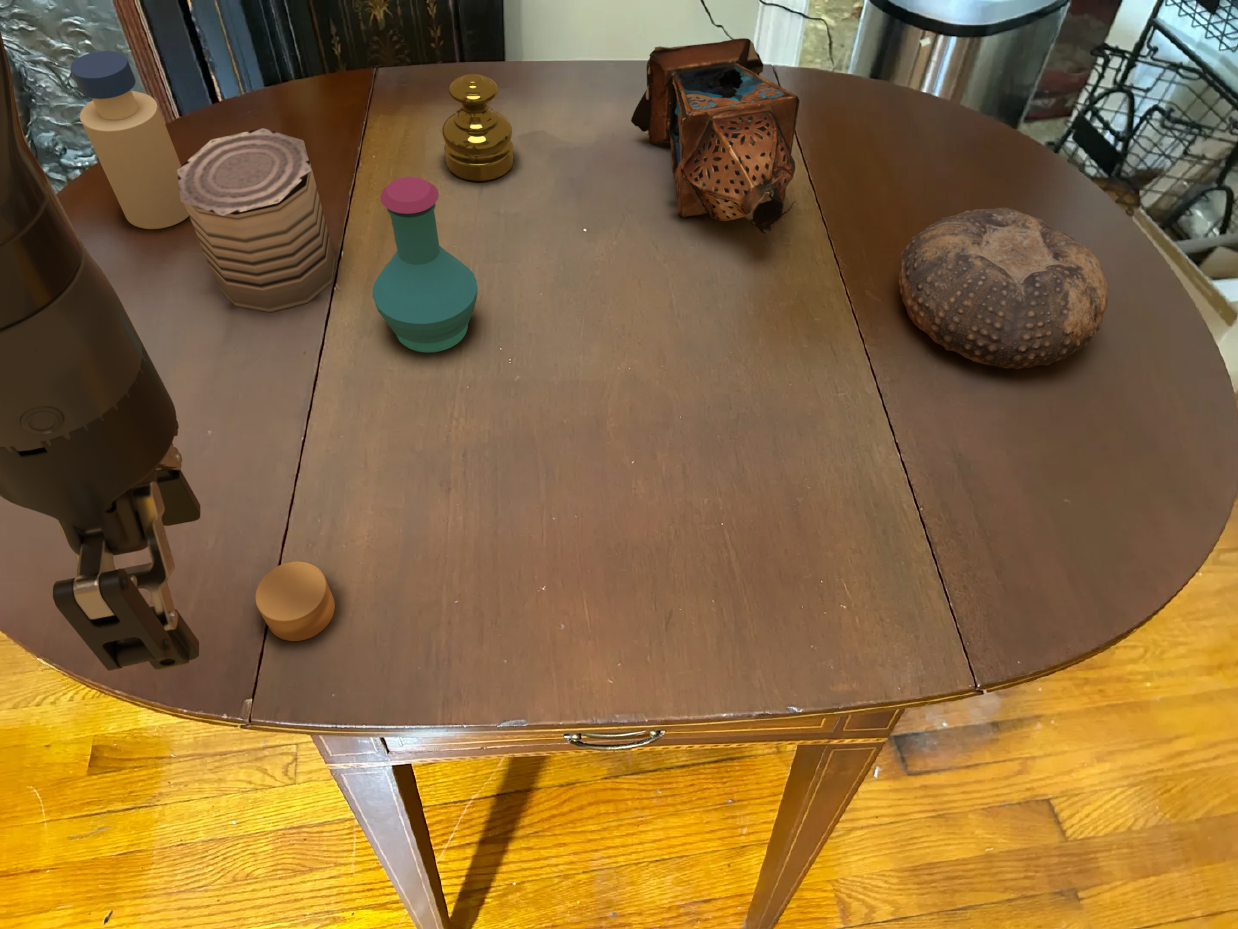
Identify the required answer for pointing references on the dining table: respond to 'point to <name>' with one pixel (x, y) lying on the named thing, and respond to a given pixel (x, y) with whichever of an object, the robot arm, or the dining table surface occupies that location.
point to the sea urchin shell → (1002, 288)
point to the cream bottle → (130, 141)
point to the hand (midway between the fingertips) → (180, 584)
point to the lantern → (721, 130)
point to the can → (259, 219)
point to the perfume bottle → (422, 274)
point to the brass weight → (477, 132)
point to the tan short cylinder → (295, 601)
